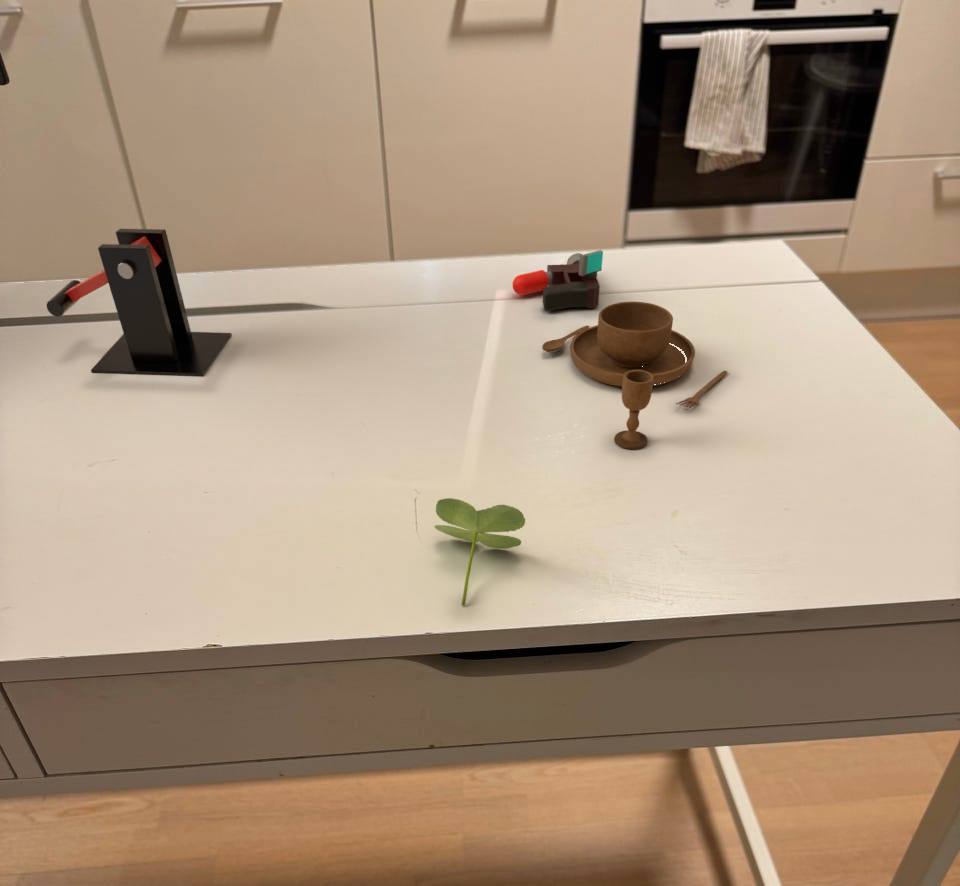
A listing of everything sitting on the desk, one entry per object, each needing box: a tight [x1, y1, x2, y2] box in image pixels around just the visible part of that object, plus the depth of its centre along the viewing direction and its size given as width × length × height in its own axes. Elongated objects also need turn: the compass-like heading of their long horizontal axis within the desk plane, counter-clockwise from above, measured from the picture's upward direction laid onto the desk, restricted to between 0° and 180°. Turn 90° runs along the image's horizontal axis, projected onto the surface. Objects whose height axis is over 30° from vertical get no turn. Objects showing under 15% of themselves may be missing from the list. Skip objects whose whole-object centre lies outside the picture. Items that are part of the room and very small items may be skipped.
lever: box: [46, 236, 162, 318], centre depth 81 cm, size 11×5×2 cm, turn 85°
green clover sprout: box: [434, 497, 526, 607], centre depth 60 cm, size 7×8×6 cm
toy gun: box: [512, 249, 604, 312], centre depth 96 cm, size 10×12×5 cm
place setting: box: [541, 301, 728, 450], centre depth 80 cm, size 18×20×6 cm
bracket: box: [90, 228, 232, 378], centre depth 82 cm, size 11×9×12 cm
